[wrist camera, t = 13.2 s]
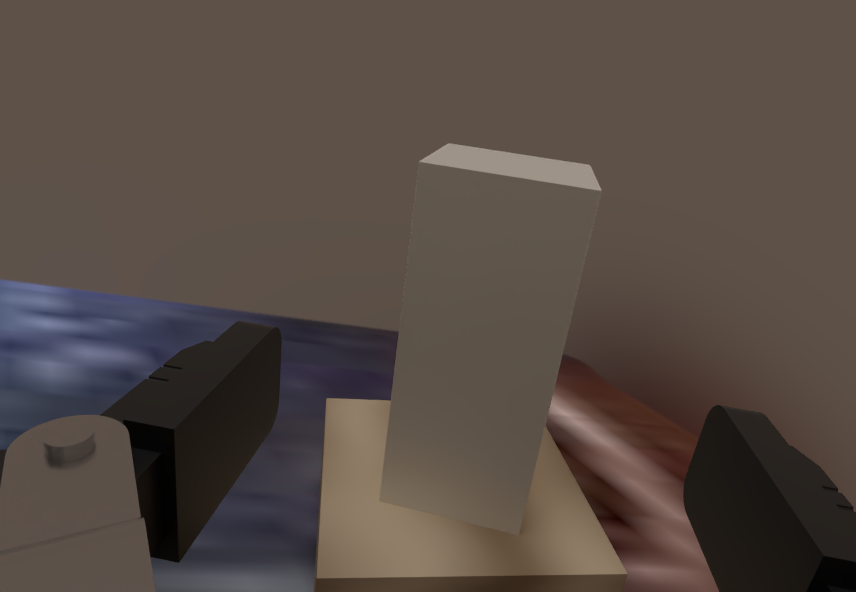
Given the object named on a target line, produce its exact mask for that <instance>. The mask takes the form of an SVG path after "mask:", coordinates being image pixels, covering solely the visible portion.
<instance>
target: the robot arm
mask: <svg viewBox="0 0 856 592" xmlns="http://www.w3.org/2000/svg"><path fill="white" fill-rule="evenodd" d="M280 365H281V332H280V330H279V328H277V327H272V326H267V325H261V324H255V323H249V322H244V321H238V322H236V323H235V324H234V325H232V326H231V327H230V328H229V329H228V330H227V331H226V332H224V333H223V334H222V335H221V336H220V337H219V338H217V339H216V340H215V341H214V342H211V341H204V342H202V343H199V344H196V345H194V346H191V347H189V348H186V349H184V350H181V351H180V352H179V353H177V354H176V355H175V356H174V357H172V358H171V359H170V360H169V361H167V362H166V363H165V364H164V366H163V368H162V367H160V368H159V369H157V370H156V371H155V372H154V373H152V374H151V375H150V376H149V379H148V380H147V379H145V380H144V381H142V382H141V383H140V384H139V385H137V386H136V387H135V388H134V389H132V390H131V391H130V392H129V393H127V394H126V395H125V396H124V397H122V398H121V399H120V400H119V401H117V402H116V403H115V404H114V405H112V406H111V407H110V408H109V409H107V410H106V411H105V412H104V413H102V414H101V415H100V416H99V415H78V416H69V417H64V418H59V419H56V420H52V421H49V422H46V423H43V424H40V425H38V426H36V427H34V428H32V429H30V430H28V431H26V432H25V433H23V434H22V435H20V436H19V437H18V438H16V439H15V440H14V441H13V442H12V443H11V445H10V446H9V448H8V449H7V450H0V592H155V586H154V579H153V573H152V566H151V559H150V558H151V557H154V558H159V559H164V560H168V561H173V562H178V563H179V562H180V560H181V559H182V558H183V556H184V555H185V553H186V552H187V550H188V549H189V548H190V546H191V545H192V543H193V542H194V540H195V539H196V537H197V536H198V535H199V533H200V532H201V530H202V529H203V527H204V526H205V524H206V523H207V522H208V520H209V519H210V517H211V516H212V514H213V513H214V511H215V510H216V509H217V507H218V506H219V504H220V503H221V501H222V500H223V499H224V497H225V496H226V494H227V493H228V491H229V490H230V488H231V487H232V486H233V484H234V483H235V481H236V480H237V478H238V477H239V475H240V474H241V473H242V471H243V470H244V468H245V467H246V465H247V464H248V462H249V461H250V460H251V458H252V457H253V455H254V454H255V452H256V451H257V450H258V448H259V447H260V445H261V444H262V442H263V441H264V439H265V438H266V437H267V435H268V434H269V432H270V430H271V428H272V426H273V424H274V421H275V418H276V415H277V411H278V405H279V390H280ZM684 506H685V510H686V513H687V516H688V518H689V521H690V523H691V525H692V528H693V530H694V532H695V535H696V537H697V539H698V542H699V544H700V547H701V549H702V551H703V554H704V556H705V558H706V561H707V563H708V566H709V568H710V570H711V573H712V575H713V577H714V580H715V582H716V585H717V587H718V589H719V592H856V512H854V511H853V506H852V505H851V504H850V503H849V501H848V500H847V499H846V498H845V496H844V495H843V494H842V493H838V488H837V487H836V486H835V484H834V483H833V482H832V481H831V480H830V478H829V477H828V476H827V475H826V474H825V472H824V471H823V470H822V469H821V467H819V466H818V465H817V464H815V463H814V462H813V461H811V460H810V459H809V458H807V457H806V456H805V455H803V454H802V453H801V452H799V451H798V450H797V449H795V448H794V447H793V446H789V444H788V443H787V442H786V441H785V439H784V438H783V437H782V436H781V434H780V433H779V432H778V431H777V429H776V428H775V427H774V426H773V425H772V423H771V422H770V421H769V419H768V418H767V417H766V416H765V415H764V414H763V413H760V412H754V411H748V410H743V409H736V408H731V407H726V406H720V405H716V406H714V407H713V408H712V409H711V410H710V411H709V414H708V415H707V418H706V420H705V423H704V426H703V429H702V432H701V434H700V437H699V440H698V443H697V446H696V449H695V452H694V454H693V457H692V460H691V463H690V466H689V469H688V472H687V474H686V478H685V482H684Z"/></svg>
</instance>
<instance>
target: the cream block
mask: <svg viewBox="0 0 856 592" xmlns="http://www.w3.org/2000/svg"><path fill="white" fill-rule="evenodd" d="M416 184H417V185H416V191H415V200H414V208H413V217H412V226H411V234H410V242H409V251H408V259H407V269H406V276H405V285H404V294H403V302H402V312H401V319H400V328H399V336H398V345H397V353H396V362H395V370H394V379H393V387H392V396H391V404H390V413H389V421H388V430H387V438H386V447H385V455H384V464H383V472H382V481H381V490H380V498H379V501H381V502H385V503H389V504H393V505H397V506H401V507H405V508H409V509H414V510H418V511H422V512H426V513H430V514H434V515H438V516H442V517H446V518H450V519H454V520H458V521H462V522H466V523H470V524H474V525H478V526H482V527H486V528H490V529H494V530H498V531H502V532H507V533H511V534H515V535H519V533H520V528H521V524H522V520H523V516H524V512H525V508H526V503H527V499H528V495H529V491H530V487H531V483H532V479H533V474H534V470H535V466H536V462H537V458H538V454H539V450H540V445H541V441H542V437H543V433H544V429H545V425H546V420H547V416H548V412H549V408H550V404H551V400H552V396H553V391H554V387H555V383H556V379H557V375H558V371H559V366H560V362H561V358H562V354H563V350H564V346H565V341H566V337H567V333H568V329H569V325H570V321H571V317H572V313H573V308H574V304H575V300H576V296H577V292H578V287H579V283H580V279H581V275H582V271H583V267H584V263H585V258H586V254H587V250H588V246H589V242H590V238H591V234H592V229H593V225H594V221H595V217H596V213H597V209H598V205H599V200H600V196H601V192H602V190H601V188H600V186H599V184H598V181H597V179H596V177H595V175H594V173H593V170H592V168H591V166H590V165H586V164H580V163H573V162H567V161H560V160H553V159H547V158H541V157H533V156H528V155H521V154H515V153H508V152H502V151H495V150H489V149H482V148H476V147H469V146H463V145H456V144H450V143H449V144H447V145H445V146H444V147H442V148H440V149H439V150H437V151H436V152H434V153H432V154H431V155H429V156H427V157H426V158H424V159H423V160H421V161H419V166H418V174H417V183H416Z"/></svg>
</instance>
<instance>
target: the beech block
mask: <svg viewBox="0 0 856 592" xmlns="http://www.w3.org/2000/svg"><path fill="white" fill-rule="evenodd" d="M390 404H391V401H384V400H359V399H333V398H327V401H326V414H325V428H324V441H323V455H322V468H321V482H320V499H319V515H318V532H317V549H316V565H315V582H314V592H622V589H623V586H624V583H625V580H626V577H627V572H626V570H625V568H624V567H623V565H622V563H621V561H620V559H619V558H618V556H617V554H616V552H615V550H614V549H613V547H612V545H611V543H610V541H609V540H608V538H607V536H606V534H605V532H604V531H603V529H602V527H601V525H600V523H599V522H598V520H597V518H596V516H595V514H594V513H593V511H592V509H591V507H590V505H589V504H588V502H587V500H586V498H585V496H584V495H583V493H582V491H581V489H580V487H579V486H578V484H577V482H576V480H575V478H574V477H573V475H572V473H571V471H570V469H569V468H568V466H567V464H566V462H565V460H564V459H563V457H562V455H561V453H560V451H559V450H558V448H557V446H556V444H555V442H554V441H553V439H552V437H551V435H550V433H549V432H548V430H547V428H546V426H545V429H544V433H543V437H542V441H541V445H540V450H539V454H538V458H537V462H536V466H535V470H534V474H533V479H532V483H531V487H530V491H529V495H528V499H527V503H526V508H525V512H524V516H523V520H522V524H521V528H520V533H519V535H515V534H511V533H507V532H502V531H498V530H494V529H490V528H486V527H482V526H478V525H474V524H470V523H466V522H462V521H458V520H454V519H450V518H446V517H442V516H438V515H434V514H430V513H426V512H422V511H418V510H414V509H409V508H405V507H401V506H397V505H393V504H389V503H385V502H381V501H379V498H380V490H381V481H382V472H383V464H384V455H385V447H386V438H387V430H388V421H389V413H390Z"/></svg>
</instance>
